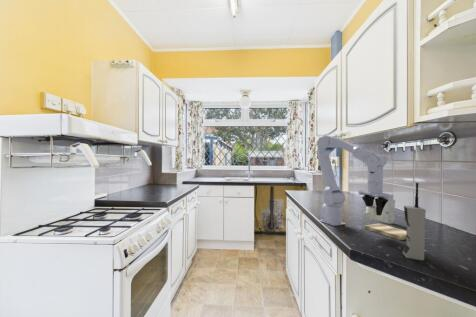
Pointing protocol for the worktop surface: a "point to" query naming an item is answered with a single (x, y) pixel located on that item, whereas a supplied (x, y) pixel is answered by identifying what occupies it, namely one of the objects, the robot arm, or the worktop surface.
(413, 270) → the worktop surface
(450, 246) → the worktop surface
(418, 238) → the vintage mobile phone
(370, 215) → the capped bottle
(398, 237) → the birch board
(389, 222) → the skincare box
